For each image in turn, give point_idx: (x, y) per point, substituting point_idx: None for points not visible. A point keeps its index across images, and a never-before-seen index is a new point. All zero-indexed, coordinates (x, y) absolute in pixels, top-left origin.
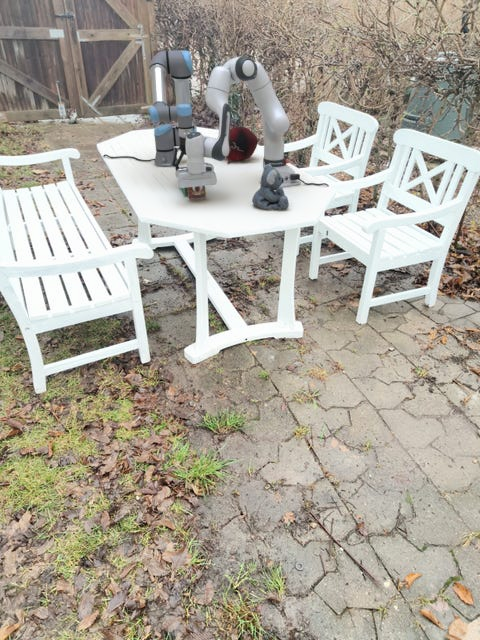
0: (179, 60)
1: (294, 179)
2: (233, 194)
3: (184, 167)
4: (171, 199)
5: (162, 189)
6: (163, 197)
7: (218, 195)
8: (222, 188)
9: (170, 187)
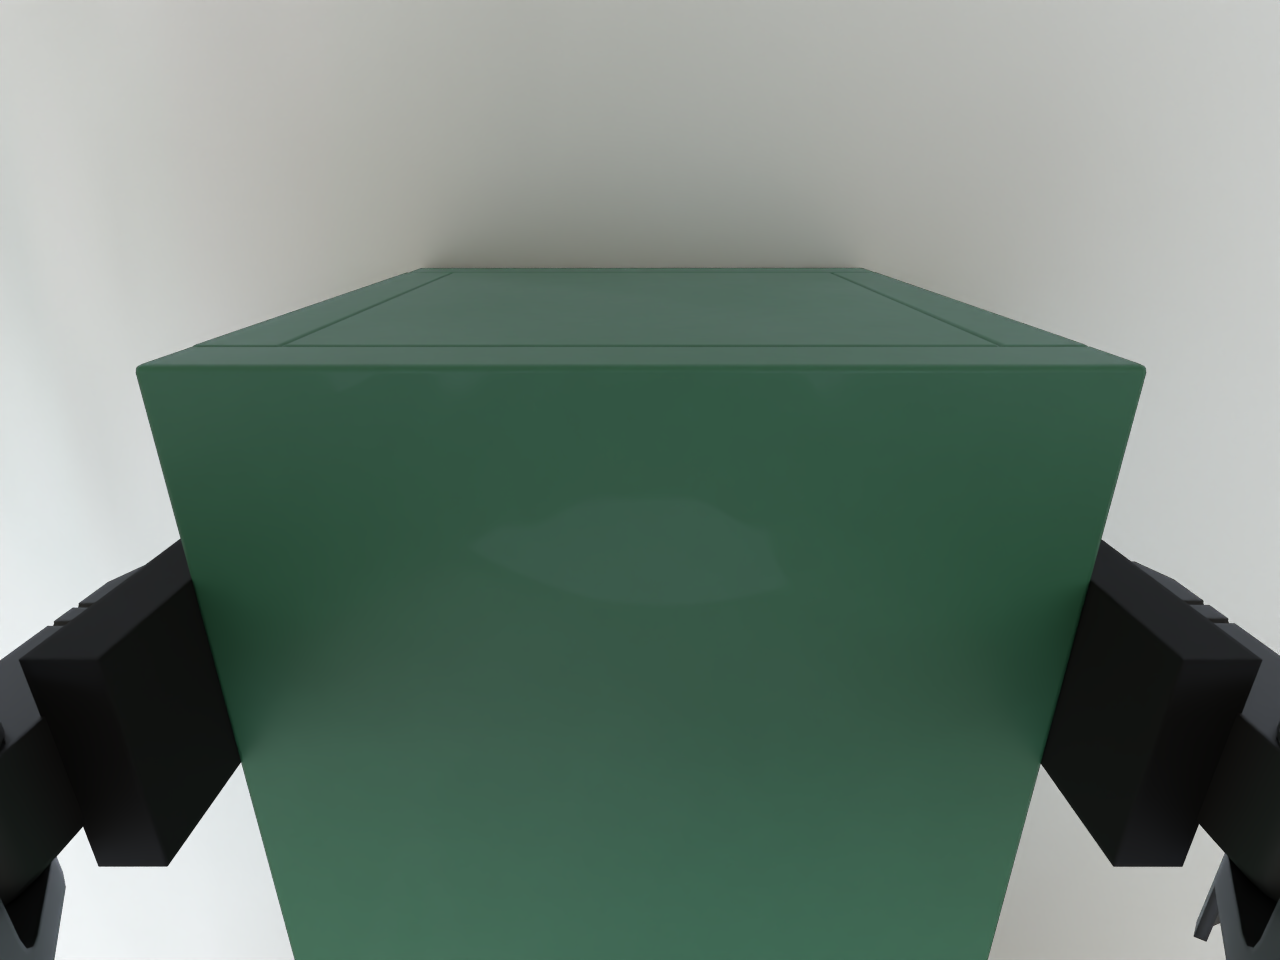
0: None
1: None
2: (1222, 952)
3: (481, 415)
4: (266, 916)
5: (29, 428)
6: None
7: (995, 937)
8: None
9: (199, 341)
